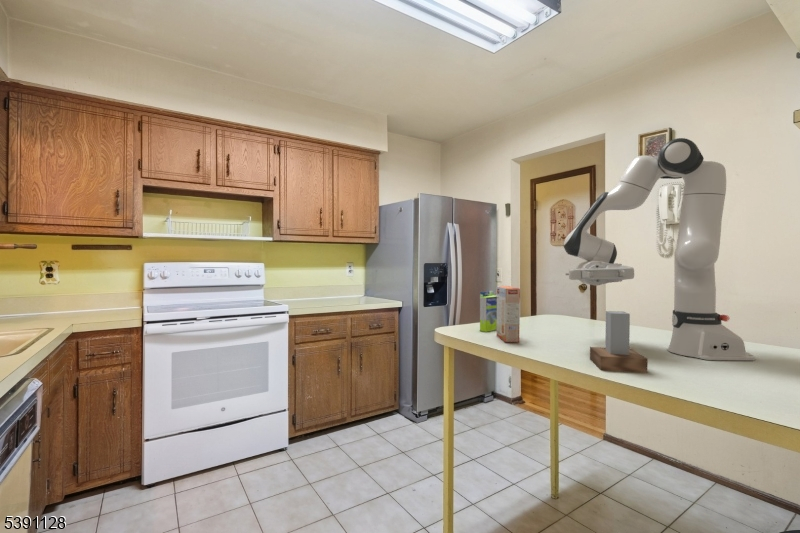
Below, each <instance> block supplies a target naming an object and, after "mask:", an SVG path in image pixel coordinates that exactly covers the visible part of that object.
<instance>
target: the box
mask: <svg viewBox="0 0 800 533" xmlns="http://www.w3.org/2000/svg"><path fill="white" fill-rule="evenodd" d="M493 331H497V294H496V295H494V290H489V291H488V290H487V291H479V332H485V333H487V332H493Z"/></svg>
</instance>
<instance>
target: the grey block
mask: <svg viewBox="0 0 800 533" xmlns="http://www.w3.org/2000/svg"><path fill="white" fill-rule="evenodd" d="M630 318H631V313H630V312H629V313H628V312H626V311H615V310H614V311H611V310H606V311H605V344H604V346H605V347H604V348H605V350H606V351H607V352H608V353H610V354H620V355H629V349H630V335H631V334H630V332H631V331H630V326H631V324H630V323H631V322H630V321H631V320H630Z"/></svg>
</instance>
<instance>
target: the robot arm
mask: <svg viewBox="0 0 800 533" xmlns="http://www.w3.org/2000/svg"><path fill="white" fill-rule="evenodd" d="M660 179H669V180H673V179H674V180H676V179H678V180H679V179H683V182H684V183H683V184H684V187H683V193H682V194H683V196H682V201H681V208H680V209H681V210H680V215H679V224H678V231H677V239H676V247H675V250H674V257H673V258H674V261H673V262H674V263H673V264H674V265H673V266H674V270H673V271H674V279H673V280H674V291H673V292H674V298H673V299H674V300H673V302H674V303H673V305H674V306H673V310H672V315H671V322H672V324H671V325H672V334H671V338H670V342H669V345H668V348H667V351H668V352H670V353H673V354H676V355H681V356H685V357H690V358H697V359H701V360H706V361H755V360H756V357H755V356H754V354H751V353H749V352H746V346H745V342H744V340H743V338H742V337H741V336H739V335H738V334H737V333H735V332H733V331H732V330H730V329H729V328H728V327H727V326H725V325H724V324H723V322H726V323H727V322H729V321H730V320H731V319H730V316H728V315H726V314H719V313H717V312H716V308H717V307H716V306H717V305H716V303H717V296H716V295H717V287H716V286H717V285H716V274H715V273H716V272H715V268H716V267H715V263H716V262H717V261H718V258H719V254H720V244H721V235H722V234H721V233H722V220H723V214H724V206H725V200H726V191H727V171H726V167H725V166H724V164H722V163H720V162H717V161H712V160H711V161H706V160H704V156H703V154H702V152H701V150H700V149H699V147H698V145H697V144H696V143H695V142H694V141H693V140H690V139H688V138H685V137H679V138H675V139H671V140H670V141H668V142H666V143H665V144H664V145H663V146H662V147H661V149H660V150H659V153H658V155H655V156H651V155H644V154H643V155H638V156H635V157H634V159H632V161H631V162H630V163H629V164H628V166H627V167H626V169H625V170H624V171H623V173H622V174H621V177H620V178H619V180H618V182H617V183H616V185H615V186H614V187H613V188H612V189H610V190H609V191H605V192H603V193H601V194H600V195H599V196H598V197H597V198H596V200H595V201H594V202H593V203H592V205H591V206H590V207H589V208H588V210H587V211H586V213H584V215H583V217H581V219H580V220H579V221H578V223H577V224H576V226H575V227H574V228H573V229H572V231H570V232H569V233H568V235H567V236H566V237H565V239H564V242H563V244H562V247H563V248H564V251H565V252H566V254H567V255H570V256H573V257H577V258H580V259H582V260H585V261H582V262H580V263H579V264H577V265H576V267H575V268H571V269H568V272H566V273H565V276H568V279H569V280H570V281H571V280H572V281H579V282H581V283H584V284H586V285H591V286H601V285H606V284H609V283H619V282H620V283H621V282H623V281H625V280H626V281H627V280H633V279H634V278H635V268H634V267H633V266H628V265H623V264H622V263H615V261H616V259H617V255H618V251H617V247H616V245H615V243H613V242H611V241H609V240H607V239H605V238H601V237H598V236H595V235H594V234H590V233H589V232H588V230H590V228H591V227H592V225H593V224H594V223H595V221H596V219H597V218H598V217H599V216H600V215H601V214H603V213H604V212H607V211H630V210H635V209H637V208H639V207H641V206H643V204H645V202H646V200H647V199H648V197H649V195H650V193H651V192H652V190H653V188H654V187H655V185H656V183H657V182H658V180H660ZM722 321H723V322H722Z"/></svg>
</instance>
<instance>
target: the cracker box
mask: <svg viewBox="0 0 800 533" xmlns="http://www.w3.org/2000/svg"><path fill="white" fill-rule="evenodd" d="M496 296H497V330H496V332H495V333H496V337H498V338H499V339H501V340H502V341H503V342H504V343H516V344H517V343H520V327H521V325H520V323H521V322H520V321H521V320H520V316H521V314H520V312H521V310H520V309H521V308H520V307H521V289H520V288H519V287H515V286H510V285H497V286H496Z"/></svg>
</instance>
